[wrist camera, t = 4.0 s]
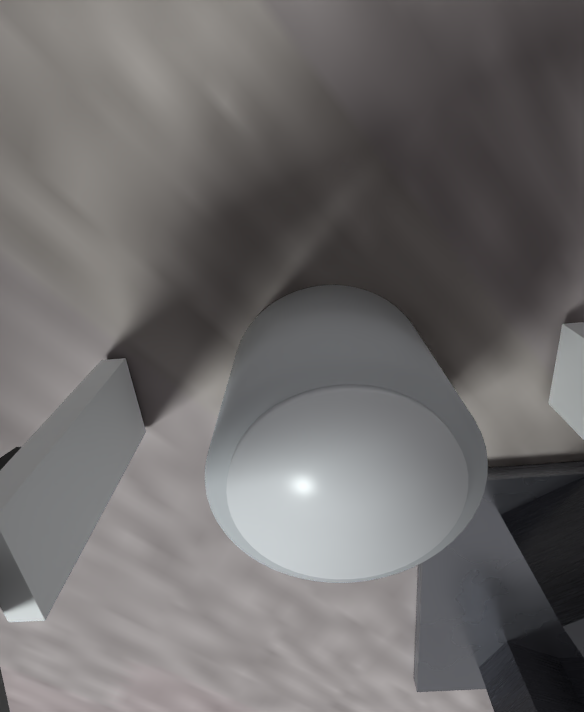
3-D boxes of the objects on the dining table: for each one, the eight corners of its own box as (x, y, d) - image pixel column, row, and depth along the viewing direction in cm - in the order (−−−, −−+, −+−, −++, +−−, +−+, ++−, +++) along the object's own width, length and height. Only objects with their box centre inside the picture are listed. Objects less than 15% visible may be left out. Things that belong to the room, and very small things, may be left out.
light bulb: (247, 460, 16) (226, 601, 11) (219, 293, 13) (175, 381, 8) (422, 447, 15) (480, 586, 10) (428, 275, 13) (510, 354, 8)
